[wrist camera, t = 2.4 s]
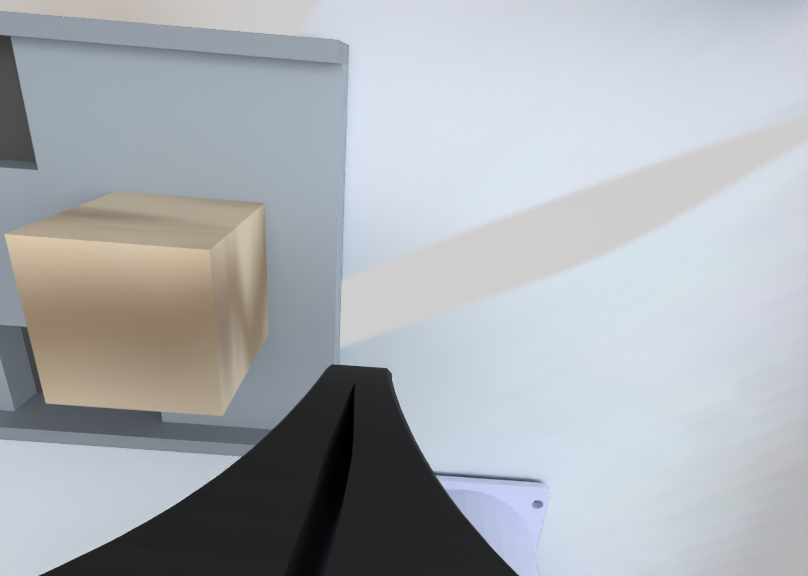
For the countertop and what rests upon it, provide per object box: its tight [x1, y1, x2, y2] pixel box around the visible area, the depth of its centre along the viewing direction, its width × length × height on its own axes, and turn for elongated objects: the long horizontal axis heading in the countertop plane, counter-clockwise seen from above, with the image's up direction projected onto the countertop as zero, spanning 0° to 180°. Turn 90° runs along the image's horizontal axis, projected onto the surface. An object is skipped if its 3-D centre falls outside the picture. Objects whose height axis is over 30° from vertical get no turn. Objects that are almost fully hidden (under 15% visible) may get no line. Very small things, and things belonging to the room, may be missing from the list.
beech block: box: [4, 191, 269, 416], centre depth 15 cm, size 5×5×5 cm
